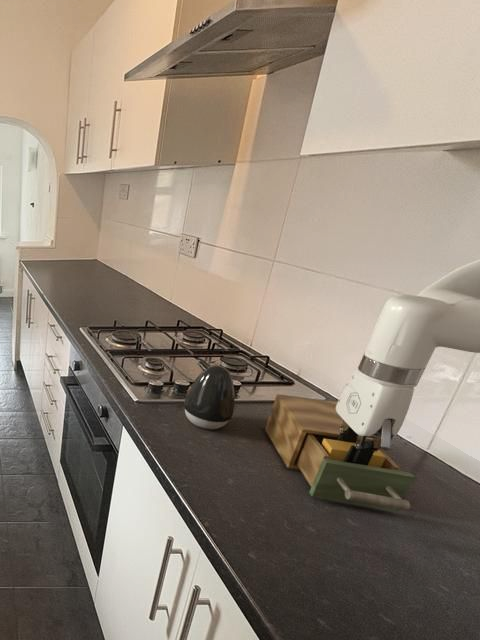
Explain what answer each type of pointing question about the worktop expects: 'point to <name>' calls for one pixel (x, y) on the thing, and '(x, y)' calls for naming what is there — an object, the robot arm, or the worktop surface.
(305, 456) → the drawer
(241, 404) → the worktop surface
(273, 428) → the cabinet
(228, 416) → the dark grey egg ornament
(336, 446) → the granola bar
